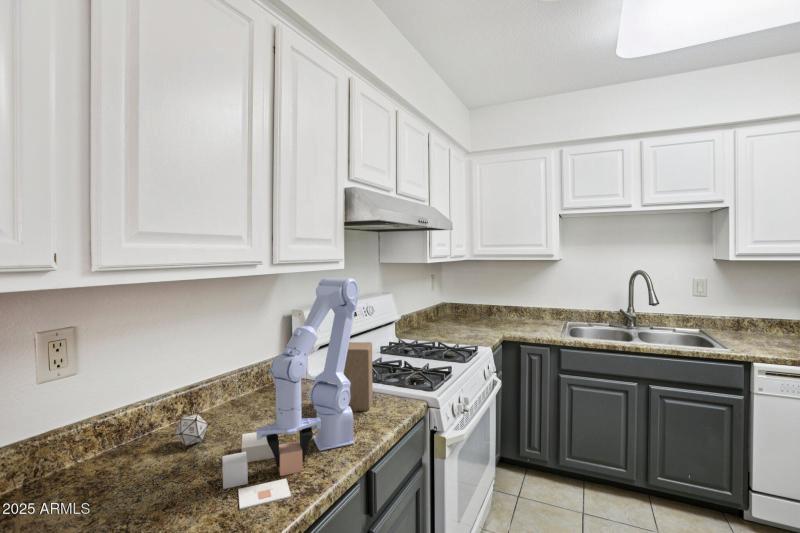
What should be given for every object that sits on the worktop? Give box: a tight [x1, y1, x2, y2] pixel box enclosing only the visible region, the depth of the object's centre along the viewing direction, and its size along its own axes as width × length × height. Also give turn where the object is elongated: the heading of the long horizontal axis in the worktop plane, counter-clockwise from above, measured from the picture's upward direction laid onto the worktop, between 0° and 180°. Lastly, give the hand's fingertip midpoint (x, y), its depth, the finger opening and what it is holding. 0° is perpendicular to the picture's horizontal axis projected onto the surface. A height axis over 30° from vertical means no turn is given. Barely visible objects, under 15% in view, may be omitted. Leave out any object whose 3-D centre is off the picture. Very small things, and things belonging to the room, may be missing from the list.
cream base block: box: [241, 431, 275, 463], centre depth 104 cm, size 8×8×4 cm
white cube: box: [222, 451, 249, 490], centre depth 91 cm, size 5×5×5 cm
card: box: [238, 478, 292, 510], centre depth 86 cm, size 10×7×1 cm
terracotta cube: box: [277, 440, 304, 477], centre depth 96 cm, size 5×5×5 cm
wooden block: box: [344, 341, 374, 412], centre depth 134 cm, size 10×10×20 cm
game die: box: [171, 410, 213, 451], centre depth 108 cm, size 9×8×10 cm
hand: (289, 462), depth 96 cm, fingers closed on terracotta cube, 5 cm apart
